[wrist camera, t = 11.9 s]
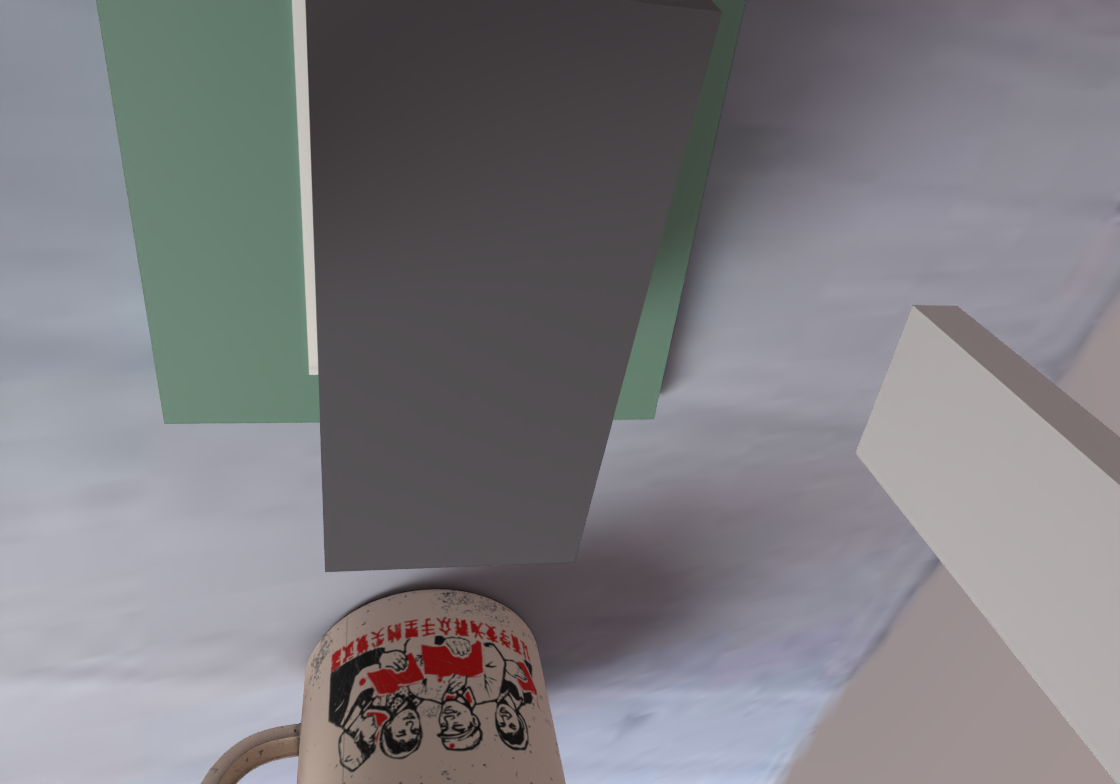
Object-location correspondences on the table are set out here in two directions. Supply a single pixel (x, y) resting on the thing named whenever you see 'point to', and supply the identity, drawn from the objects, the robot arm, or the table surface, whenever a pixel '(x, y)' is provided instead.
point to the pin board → (285, 205)
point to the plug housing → (484, 259)
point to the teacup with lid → (416, 700)
